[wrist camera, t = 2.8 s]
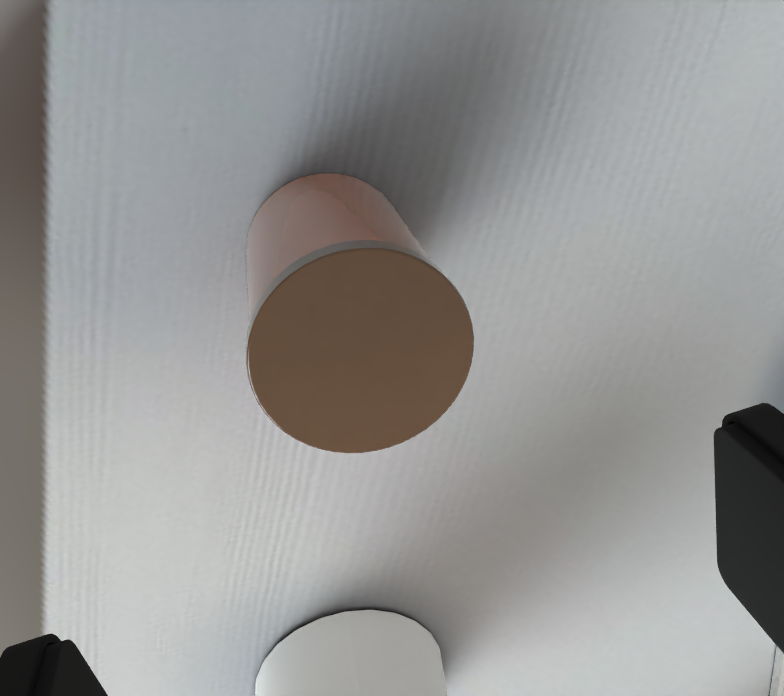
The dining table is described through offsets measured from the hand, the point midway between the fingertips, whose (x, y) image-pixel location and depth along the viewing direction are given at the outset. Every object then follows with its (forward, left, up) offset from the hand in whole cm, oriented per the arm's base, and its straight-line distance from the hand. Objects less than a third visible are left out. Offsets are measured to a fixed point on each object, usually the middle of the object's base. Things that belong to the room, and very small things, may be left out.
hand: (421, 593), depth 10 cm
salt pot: (0, 0, -13) cm, 13 cm away
